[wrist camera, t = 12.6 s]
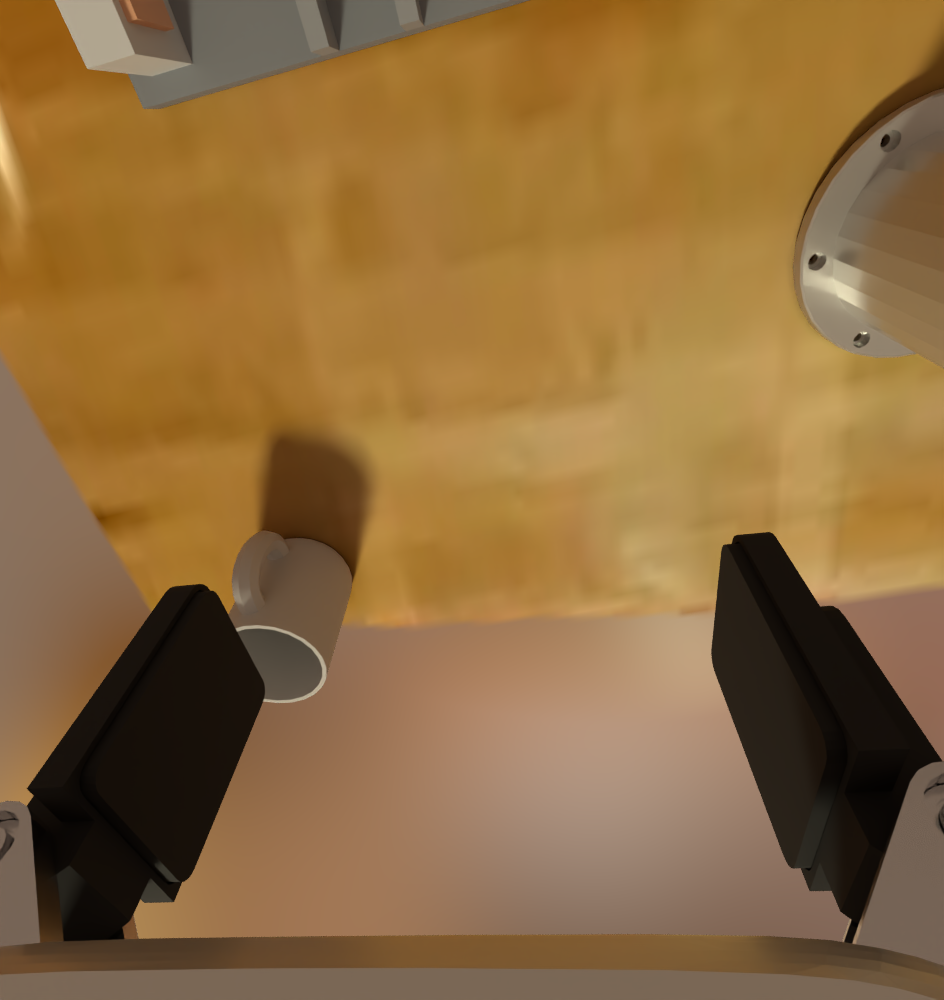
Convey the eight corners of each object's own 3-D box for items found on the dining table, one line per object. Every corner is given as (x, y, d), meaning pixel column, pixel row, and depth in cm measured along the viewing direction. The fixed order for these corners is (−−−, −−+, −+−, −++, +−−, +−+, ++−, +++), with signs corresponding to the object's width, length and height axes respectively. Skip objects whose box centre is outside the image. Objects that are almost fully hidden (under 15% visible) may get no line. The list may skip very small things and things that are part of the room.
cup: (281, 614, 46) (242, 709, 39) (223, 514, 41) (164, 602, 34) (367, 599, 45) (343, 694, 38) (318, 494, 40) (279, 581, 32)
